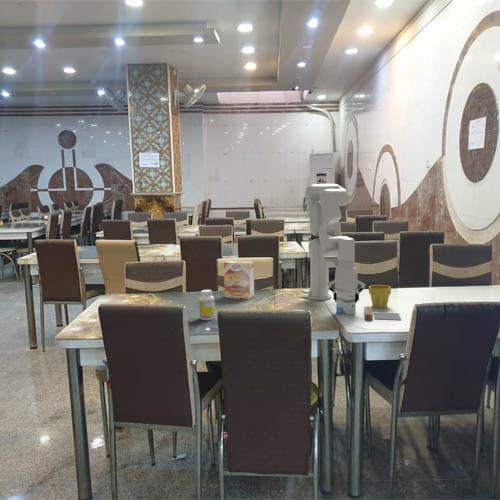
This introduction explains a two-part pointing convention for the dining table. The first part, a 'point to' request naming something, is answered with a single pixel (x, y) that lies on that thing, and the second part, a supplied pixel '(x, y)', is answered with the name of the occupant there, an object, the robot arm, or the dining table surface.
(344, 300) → the ink box
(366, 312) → the rail
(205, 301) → the supplement bottle
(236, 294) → the coffeecake box
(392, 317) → the mat
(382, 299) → the plant pot
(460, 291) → the dining table surface
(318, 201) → the robot arm
